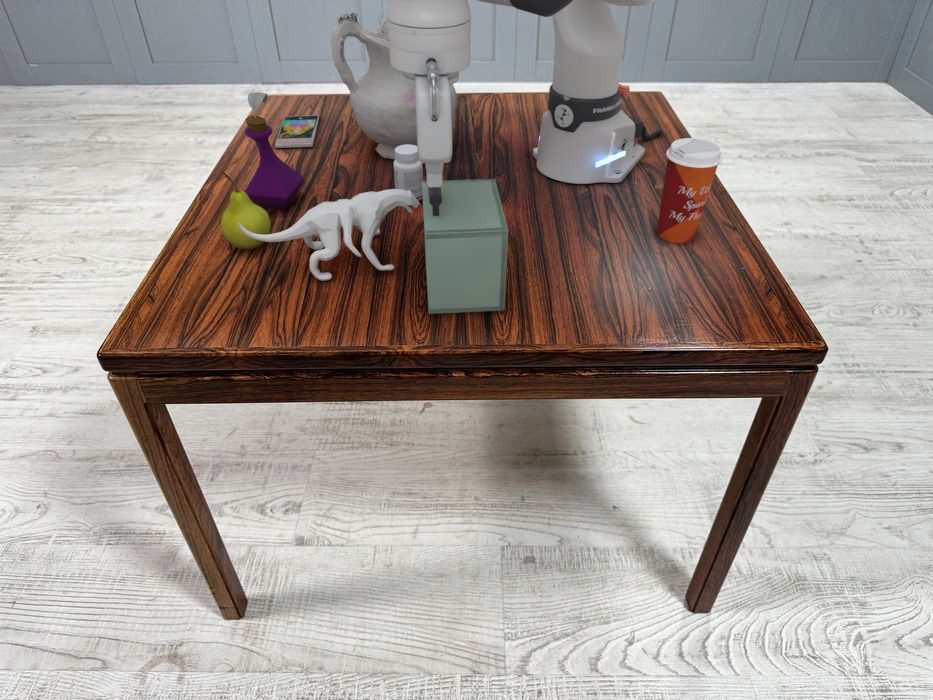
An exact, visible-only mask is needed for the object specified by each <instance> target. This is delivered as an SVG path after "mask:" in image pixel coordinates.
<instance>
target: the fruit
mask: <svg viewBox="0 0 933 700" xmlns="http://www.w3.org/2000/svg"><path fill="white" fill-rule="evenodd" d="M220 174H222V175H223V176H224V177H225V178H226V179H227V180H229V181H230V182H231V184H233V186H234V190H233V191H232V192H231V193H230V196H229V204H228V206H227V208H226V209H225V211H224V213H223V214H222V217H221V220H220V221H221V222H220V223H221V225H220V228H221V232H222V234H223V236H224V238H225V239H226V241H227V242H229V244H231V246H233V247H235V248H238V249H241V250H245V251H250V250H254V249H256V248H258V247H260V246H261V245H262V244H264V243H265V241H261V240H257V239H254V238H251V237H249V236H247V235H246V234H245V233H244V232H243V231H242V229H241V228H240V226H239V224H238V223H240V224H241V225H242V226H243V227H244V228H245V229H247V230H248V231H250V232H252V233H255V234H263V235H268V234H271V228H272V227H271V226H272V225H271V219H270V216H269V214H268V213H267V211H266V210H265V208H261V207H260V206H259V205H257V204H256V203H255V202H253V201H252V200H251V199H249V197H248V195H247V194H246V193H245V192H244V191H245V190H242V189H238V187H237V186H236V183H235V182H234V181H233V180H232V178H231V177H230V176H229V175H228V174H227V173H225V172H224V171H223V170H221V171H220Z"/></svg>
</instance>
